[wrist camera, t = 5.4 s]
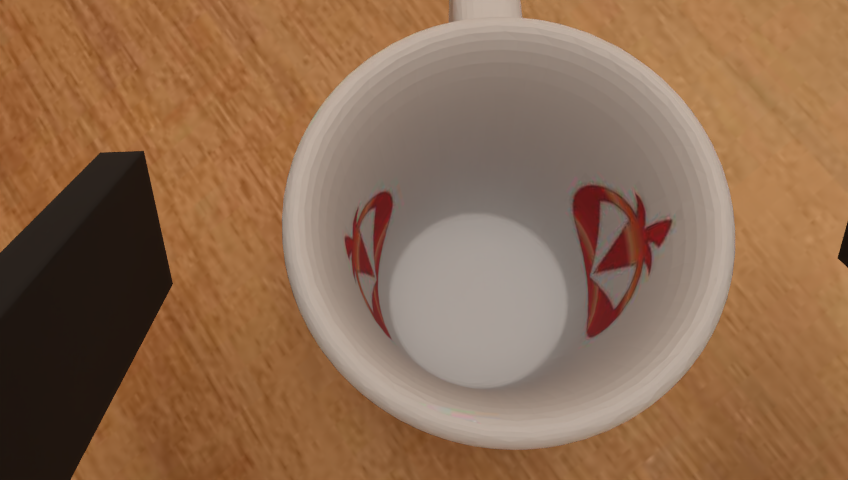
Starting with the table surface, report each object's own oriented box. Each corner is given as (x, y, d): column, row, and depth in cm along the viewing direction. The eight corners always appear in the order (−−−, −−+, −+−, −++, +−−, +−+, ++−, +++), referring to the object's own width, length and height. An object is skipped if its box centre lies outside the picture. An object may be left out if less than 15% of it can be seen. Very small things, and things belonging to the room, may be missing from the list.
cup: (334, 88, 22) (290, -110, 14) (595, 83, 22) (688, -116, 15) (329, 459, 19) (269, 455, 11) (634, 451, 19) (778, 443, 11)
